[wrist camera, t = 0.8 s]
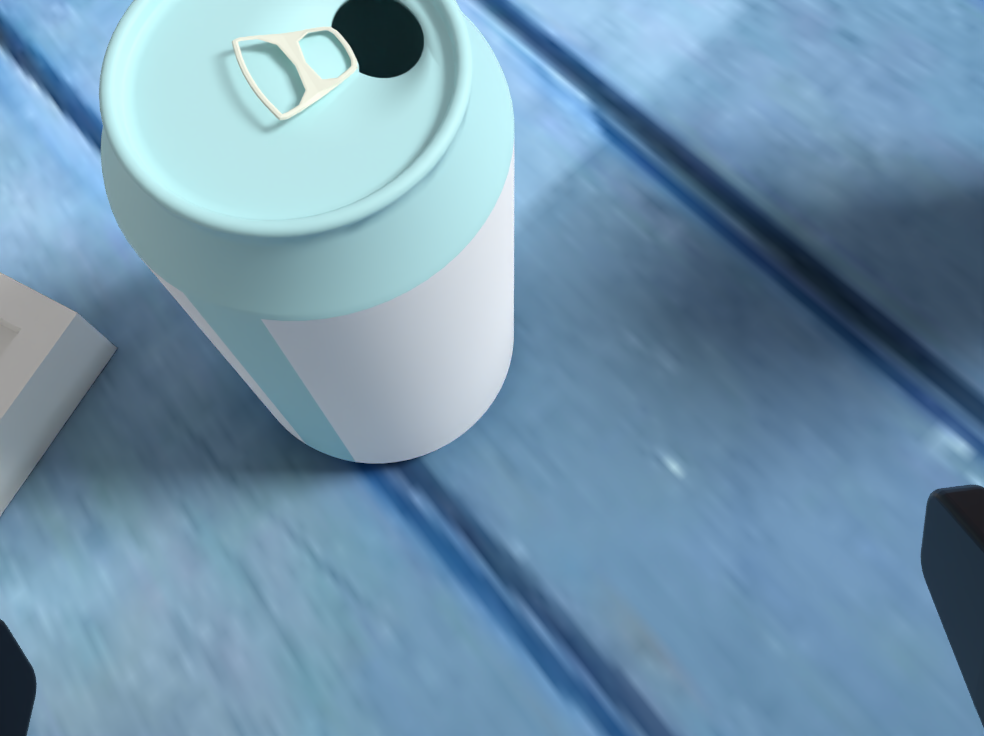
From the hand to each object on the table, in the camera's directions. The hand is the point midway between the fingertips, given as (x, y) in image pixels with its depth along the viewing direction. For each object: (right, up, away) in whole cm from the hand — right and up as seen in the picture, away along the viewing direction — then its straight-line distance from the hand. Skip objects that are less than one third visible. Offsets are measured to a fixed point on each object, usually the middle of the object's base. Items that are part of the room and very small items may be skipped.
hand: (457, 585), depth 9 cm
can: (-3, +3, +17) cm, 17 cm away
